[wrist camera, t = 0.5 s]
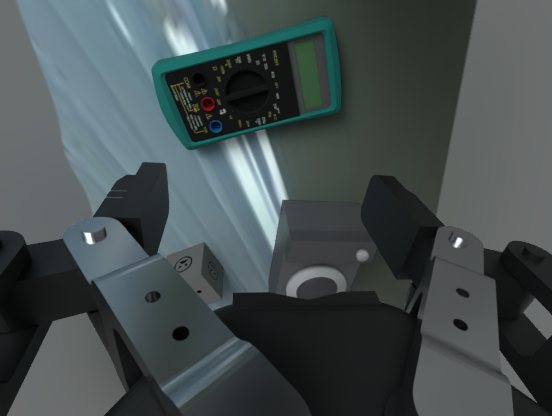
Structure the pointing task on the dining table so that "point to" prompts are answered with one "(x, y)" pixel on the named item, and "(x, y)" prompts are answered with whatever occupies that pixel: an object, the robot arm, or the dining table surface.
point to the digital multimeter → (251, 84)
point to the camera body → (318, 248)
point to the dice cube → (200, 271)
